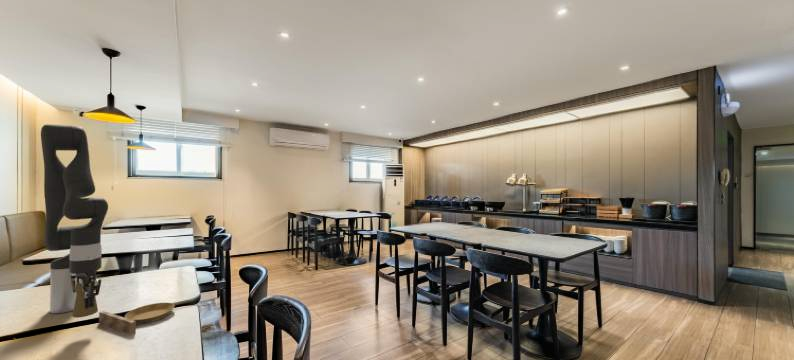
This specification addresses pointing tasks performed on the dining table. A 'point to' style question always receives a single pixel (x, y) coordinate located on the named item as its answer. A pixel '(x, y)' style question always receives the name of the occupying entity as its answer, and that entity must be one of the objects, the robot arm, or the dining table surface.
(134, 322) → the walnut divider wall
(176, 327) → the dining table surface
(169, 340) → the dining table surface
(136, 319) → the plant saucer
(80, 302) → the tan tall tapered piece
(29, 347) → the dining table surface
